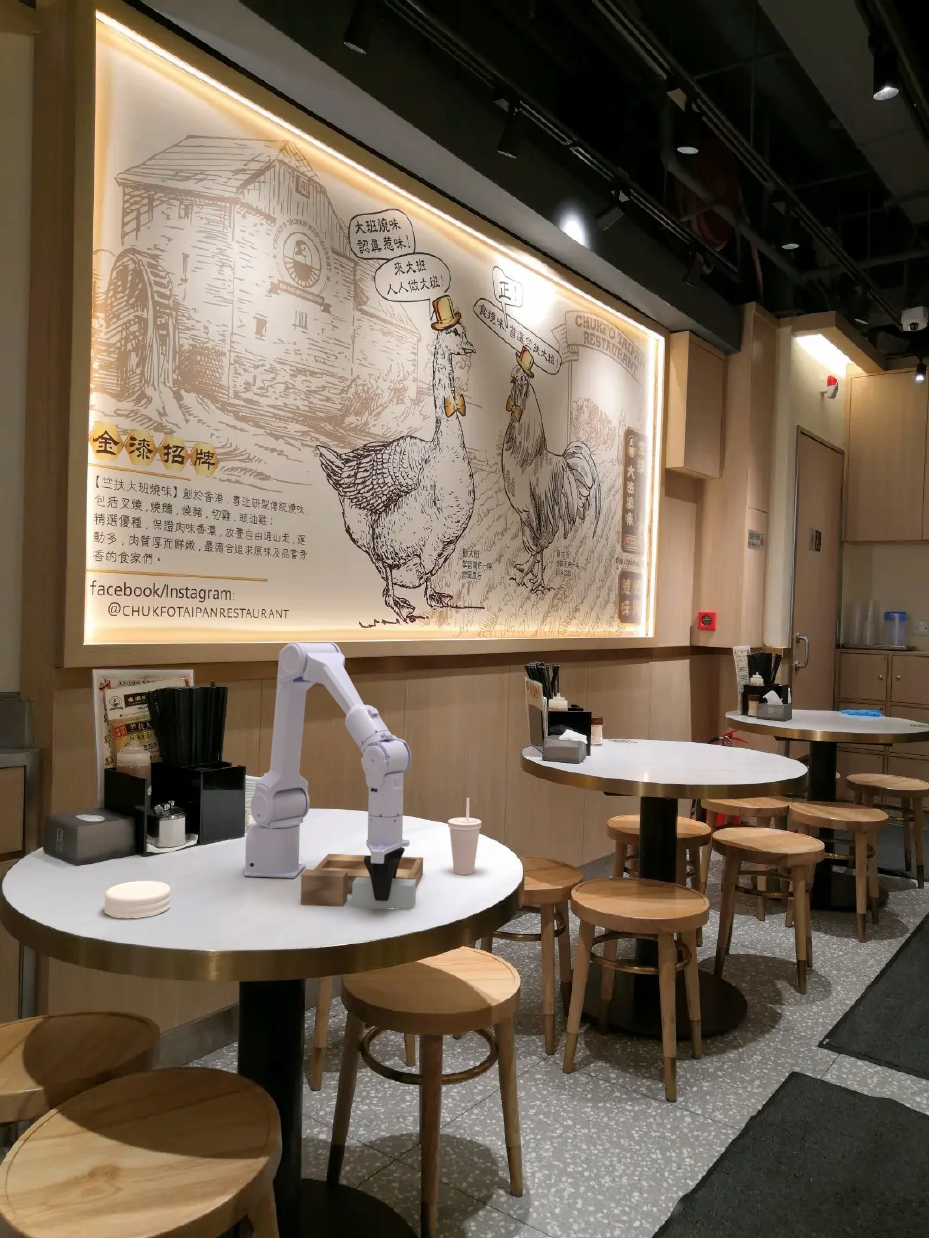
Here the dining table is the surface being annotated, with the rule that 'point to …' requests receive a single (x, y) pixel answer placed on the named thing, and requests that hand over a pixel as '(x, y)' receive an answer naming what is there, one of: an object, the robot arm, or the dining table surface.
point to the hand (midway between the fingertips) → (383, 896)
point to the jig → (357, 868)
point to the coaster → (137, 899)
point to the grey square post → (398, 898)
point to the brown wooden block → (324, 888)
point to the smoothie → (464, 842)
